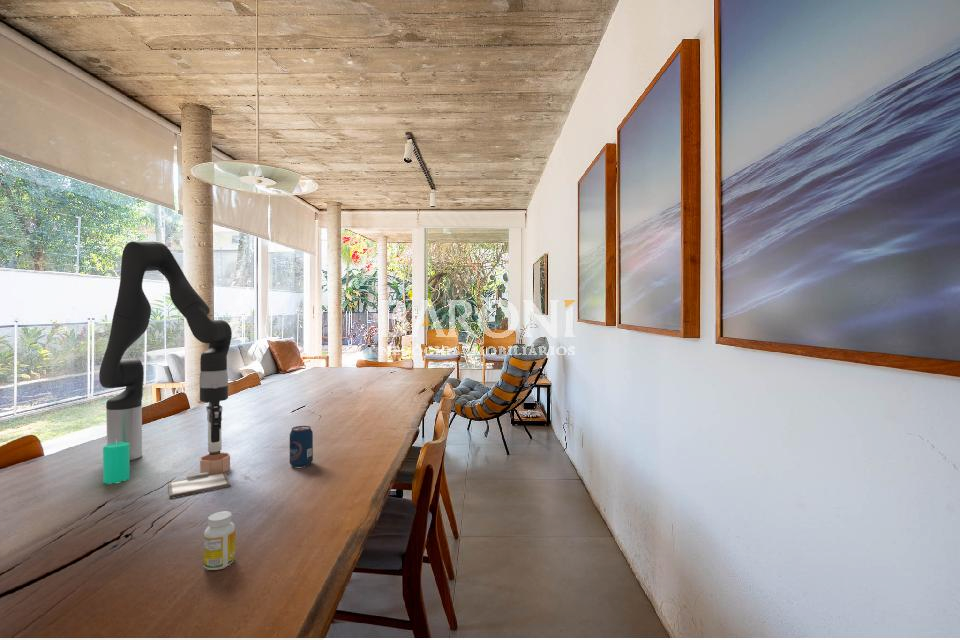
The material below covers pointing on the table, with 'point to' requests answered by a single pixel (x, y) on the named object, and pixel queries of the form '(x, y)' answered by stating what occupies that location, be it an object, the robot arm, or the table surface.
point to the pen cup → (215, 463)
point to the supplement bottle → (219, 540)
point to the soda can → (301, 446)
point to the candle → (116, 462)
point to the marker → (216, 446)
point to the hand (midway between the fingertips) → (214, 440)
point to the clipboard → (198, 484)
